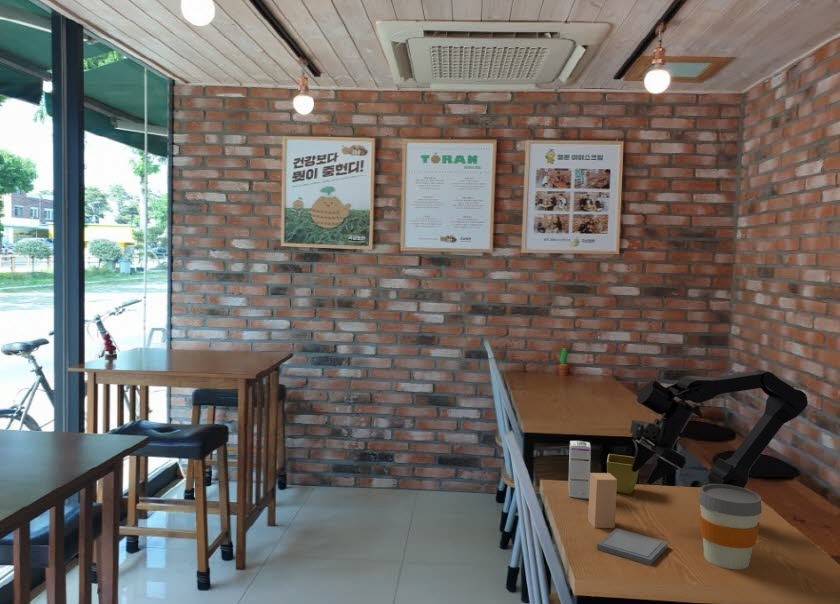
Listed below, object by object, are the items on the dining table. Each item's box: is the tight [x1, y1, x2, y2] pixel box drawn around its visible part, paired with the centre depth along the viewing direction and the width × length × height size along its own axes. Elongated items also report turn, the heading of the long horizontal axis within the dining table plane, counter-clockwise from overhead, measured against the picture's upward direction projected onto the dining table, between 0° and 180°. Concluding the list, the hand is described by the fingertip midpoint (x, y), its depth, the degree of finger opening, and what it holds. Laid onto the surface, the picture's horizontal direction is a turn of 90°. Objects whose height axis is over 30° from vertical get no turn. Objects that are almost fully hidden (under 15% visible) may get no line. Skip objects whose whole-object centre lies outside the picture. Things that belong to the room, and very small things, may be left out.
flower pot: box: [606, 453, 640, 495], centre depth 188 cm, size 9×9×9 cm
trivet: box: [596, 527, 669, 566], centre depth 149 cm, size 12×12×1 cm
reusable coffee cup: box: [698, 483, 763, 570], centre depth 145 cm, size 13×13×15 cm
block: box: [587, 472, 618, 529], centre depth 163 cm, size 5×5×12 cm
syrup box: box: [567, 440, 592, 500], centre depth 183 cm, size 6×6×14 cm
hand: (640, 477), depth 163 cm, fingers open, 9 cm apart
